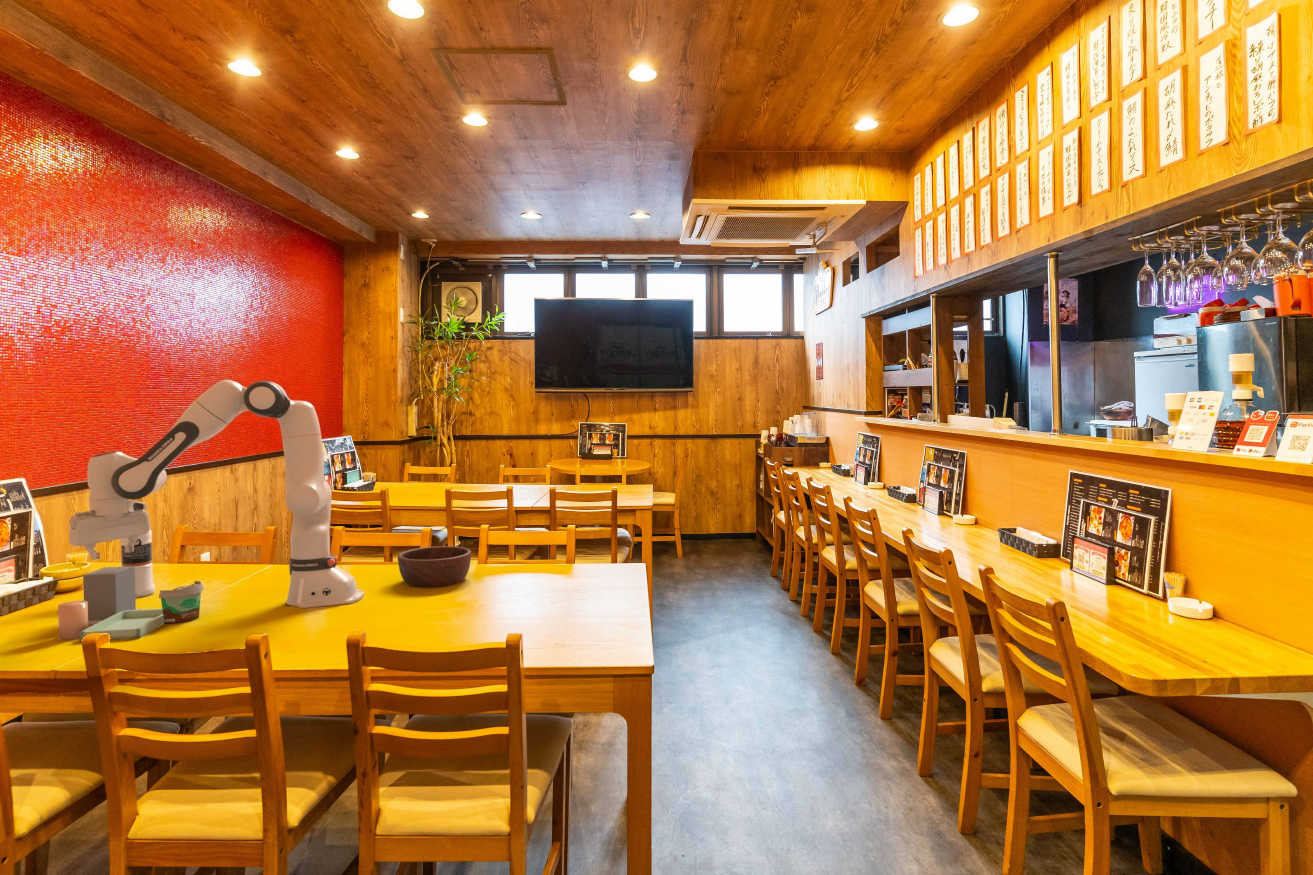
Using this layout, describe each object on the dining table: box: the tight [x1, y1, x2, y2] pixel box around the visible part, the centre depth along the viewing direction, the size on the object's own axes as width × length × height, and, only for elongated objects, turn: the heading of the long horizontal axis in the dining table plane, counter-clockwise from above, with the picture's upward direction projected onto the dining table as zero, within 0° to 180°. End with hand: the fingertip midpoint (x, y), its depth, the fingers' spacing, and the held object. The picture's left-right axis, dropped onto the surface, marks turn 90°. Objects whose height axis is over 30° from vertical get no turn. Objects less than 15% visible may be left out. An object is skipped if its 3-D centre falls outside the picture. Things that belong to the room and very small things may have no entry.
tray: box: [78, 608, 165, 643], centre depth 188 cm, size 14×20×2 cm
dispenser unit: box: [82, 566, 142, 626], centre depth 197 cm, size 10×12×14 cm
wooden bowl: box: [397, 545, 472, 588], centre depth 241 cm, size 25×25×10 cm
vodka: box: [119, 529, 156, 599], centre depth 222 cm, size 9×9×30 cm
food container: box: [158, 580, 205, 626], centre depth 195 cm, size 12×6×10 cm, turn 168°
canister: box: [57, 600, 89, 642], centre depth 181 cm, size 6×6×9 cm
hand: (112, 555), depth 195 cm, fingers open, 8 cm apart
